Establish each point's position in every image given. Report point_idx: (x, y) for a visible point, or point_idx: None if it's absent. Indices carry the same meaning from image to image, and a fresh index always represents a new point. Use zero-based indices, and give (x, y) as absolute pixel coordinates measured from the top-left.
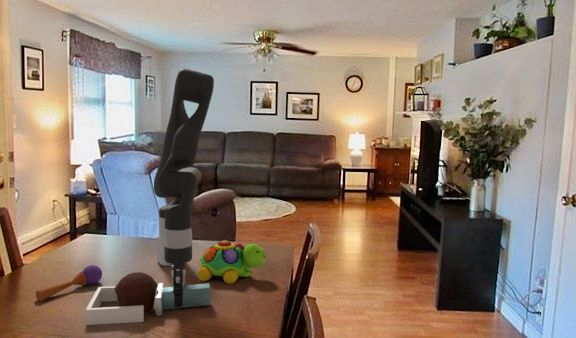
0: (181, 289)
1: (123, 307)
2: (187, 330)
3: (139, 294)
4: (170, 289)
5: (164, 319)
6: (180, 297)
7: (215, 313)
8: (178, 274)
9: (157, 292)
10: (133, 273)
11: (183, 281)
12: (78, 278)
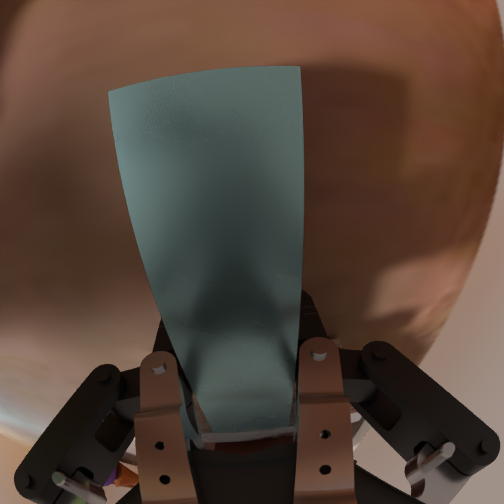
0: (417, 375)
1: (356, 442)
2: (475, 220)
3: (356, 461)
4: (255, 411)
5: (367, 320)
6: (322, 330)
7: (354, 65)
8: (453, 493)
9: (285, 434)
10: None
11: (347, 428)
12: (131, 482)
